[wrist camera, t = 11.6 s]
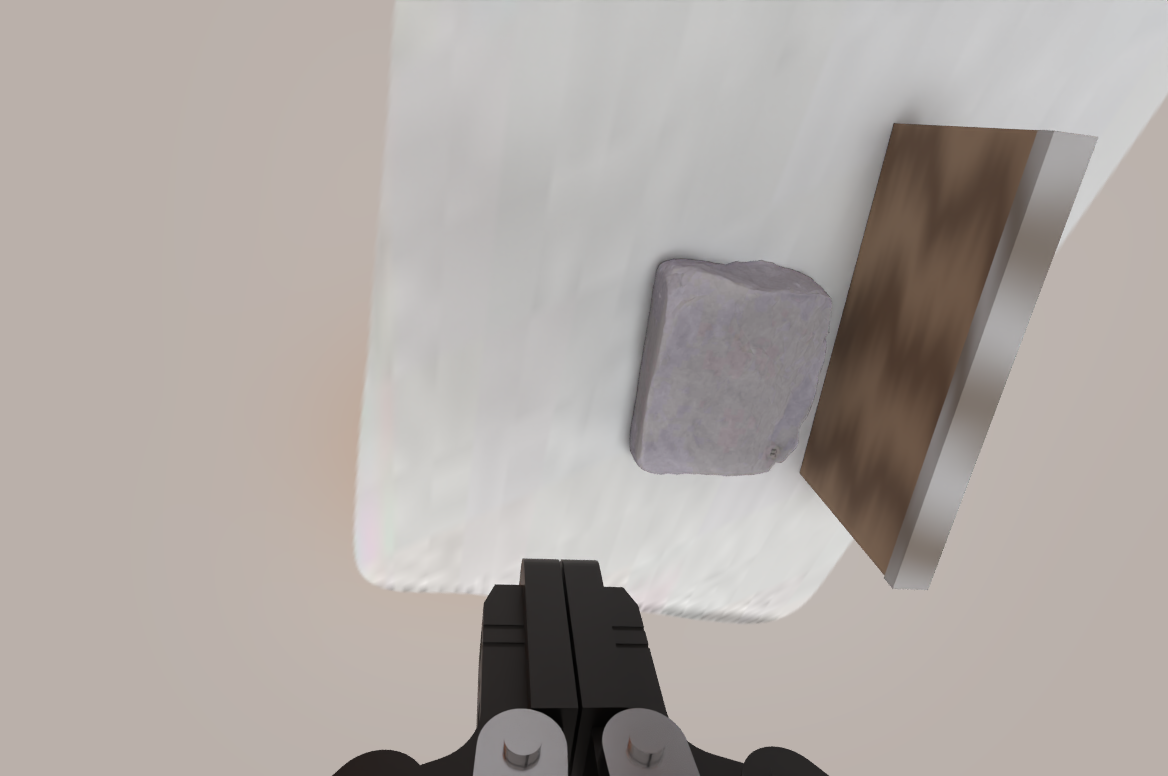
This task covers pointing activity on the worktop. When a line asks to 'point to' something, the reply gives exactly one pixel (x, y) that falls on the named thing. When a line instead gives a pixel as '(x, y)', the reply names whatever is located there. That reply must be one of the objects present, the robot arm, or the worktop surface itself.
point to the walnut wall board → (935, 329)
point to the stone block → (727, 367)
